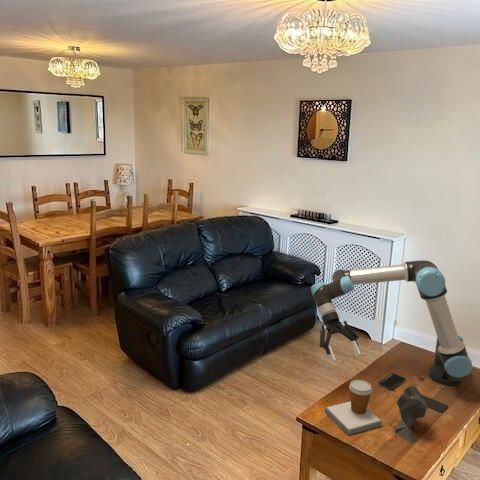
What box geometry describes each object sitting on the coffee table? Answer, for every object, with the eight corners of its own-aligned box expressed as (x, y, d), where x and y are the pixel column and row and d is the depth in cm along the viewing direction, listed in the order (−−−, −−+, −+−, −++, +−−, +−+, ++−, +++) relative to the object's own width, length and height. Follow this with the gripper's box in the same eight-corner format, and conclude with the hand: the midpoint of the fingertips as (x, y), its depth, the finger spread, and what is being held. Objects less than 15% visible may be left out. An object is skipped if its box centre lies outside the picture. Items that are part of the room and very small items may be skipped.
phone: (416, 392, 223) (448, 405, 212) (416, 393, 223) (448, 407, 213) (409, 398, 217) (442, 412, 207) (409, 400, 218) (442, 414, 207)
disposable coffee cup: (370, 417, 199) (373, 392, 196) (347, 414, 201) (349, 389, 198) (368, 404, 208) (371, 380, 205) (346, 402, 210) (349, 378, 207)
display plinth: (356, 403, 213) (357, 398, 212) (381, 425, 198) (382, 420, 197) (324, 412, 206) (325, 407, 206) (348, 435, 191) (348, 430, 191)
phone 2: (377, 383, 229) (392, 372, 239) (376, 385, 229) (392, 374, 239) (391, 390, 223) (407, 378, 233) (391, 392, 224) (407, 380, 234)
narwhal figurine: (434, 429, 196) (439, 391, 192) (412, 443, 187) (417, 403, 183) (404, 412, 207) (409, 376, 203) (382, 425, 198) (386, 387, 194)
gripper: (346, 313, 228) (364, 355, 219) (302, 321, 218) (319, 366, 209) (354, 307, 222) (372, 350, 213) (309, 315, 212) (326, 360, 203)
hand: (346, 358), depth 211 cm, fingers open, 13 cm apart
